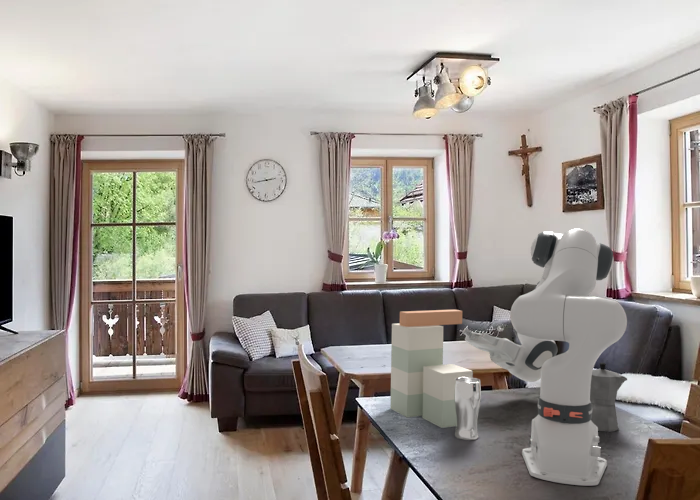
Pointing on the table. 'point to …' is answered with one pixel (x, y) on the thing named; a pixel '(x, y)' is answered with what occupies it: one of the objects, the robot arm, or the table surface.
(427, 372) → the short tower
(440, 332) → the tall tower
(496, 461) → the table surface
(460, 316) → the long brick
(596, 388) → the coffeepot
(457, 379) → the beer glass
